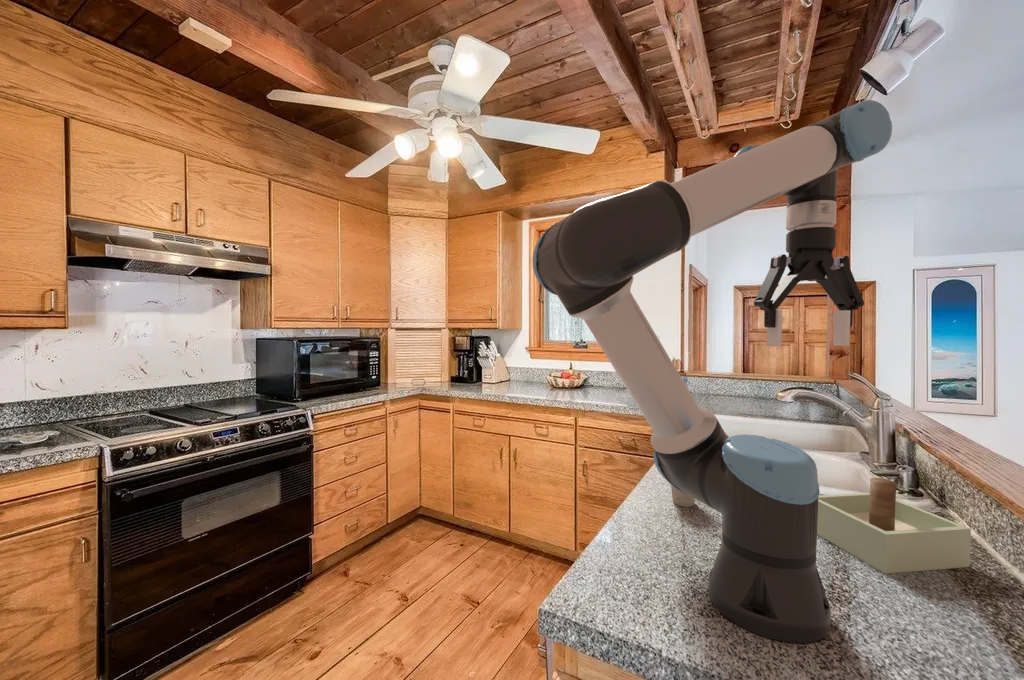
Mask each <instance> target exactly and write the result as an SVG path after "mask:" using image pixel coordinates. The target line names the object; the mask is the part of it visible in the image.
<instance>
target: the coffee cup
mask: <svg viewBox="0 0 1024 680" xmlns="http://www.w3.org/2000/svg"><path fill="white" fill-rule="evenodd" d="M670 488H671V489H670V490H671V497H672V502H673V503H674V504H675V505H677V506H679V507H680V506H681V507H686V508H687V507H689V508H690V507H693V506H695V501H696V498H694V497H692V496H690V495H689V494H687V493H685V492H682V491H680V490H678V489H677V488H675V487H674V486H672V485H671V484H670Z"/></svg>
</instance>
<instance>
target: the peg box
mask: <svg viewBox="0 0 1024 680" xmlns="http://www.w3.org/2000/svg"><path fill="white" fill-rule="evenodd" d="M869 504H870V492H859V493H858V492H855V493H839V494H819V497H818V521H817V536H819V537H821V538H823V539H825V540H826V541H828V542H830V543H831V544H833V545H834V546H837V547H839V548H841V549H842V550H843V551H845V552H847V553H849V554H850V555H851V556H854V557H855V558H857V559H859V560H861V561H862V562H864V563H866V564H867V565H869V566H871V567H873V568H875V569H876V570H878V571H879V572H881V573H883V574H886V575H887V574H897V573H899V574H901V573H911V572H922V571H924V572H926V571H934V570H947V569H948V570H949V569H950V570H951V569H958V568H960V569H961V568H970V564H971V562H970V561H971V559H970V558H971V536H972V535H971V533H972V528H971V527H967V526H965V525H962V524H960V523H958V522H955V521H952V520H950V519H947V518H945V517H942V516H940V515H938V514H934V513H932V512H929V511H927V510H925V509H922V508H920V507H917V506H914V505H911V504H910V503H907V502H904V501H903V500H900V499H897V498H896V505H895V531H884V530H882V529H880V528H878V527H876V526H874V525H872V524H869Z"/></svg>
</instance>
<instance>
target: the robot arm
mask: <svg viewBox="0 0 1024 680" xmlns="http://www.w3.org/2000/svg"><path fill="white" fill-rule="evenodd" d="M892 132H893V123H892V120H891V117H890V113H889V111H888V109H887V108H886V107H885V105H883V104H882V103H881V102H879V101H878V100H877V101H876V100H873V99H867V100H861V101H859V102H858V103H855V104H852V105H850V106H846V107H844V108H843V109H841V110H840V111H838V112H836V113H833V114H831V115H829V116H826V117H825V118H822V119H821V120H817V121H815V122H813V123H811V124H808V125H807V126H804V127H801V128H799V129H796V130H794V131H792V132H789V133H787V134H785V135H782V136H780V137H777V138H775V139H773V140H770V141H768V142H765V143H763V144H756V145H747V146H744V147H742V148H741V149H740V150H738V151H737V152H736V154H735V155H734V156H732V157H730V158H728V159H725V160H723V161H720V162H717V163H715V164H713V165H711V166H709V167H706V168H704V169H702V170H699V171H696V172H695V173H692V174H689V175H688V176H685V177H683V178H680V179H678V180H675V181H672V182H670V181H666V180H661V179H660V180H655V181H653V182H651V183H648V184H646V185H643V186H640V187H638V188H634V189H631V190H628V191H625V192H622V193H619V194H616V195H613V196H612V195H611V196H609V197H605V198H601V199H598V200H596V201H593V202H589V203H587V204H585V205H583V206H581V207H579V208H577V209H576V210H575V211H573V212H572V213H570V214H569V215H567V216H566V217H565V218H563V219H561V220H559V221H557V222H556V223H553V224H552V225H551V226H549V228H547V229H545V232H544V233H543V234H542V235H541V236H540V237H539V239H538V240H537V242H536V244H535V245H534V249H533V252H532V269H533V273H534V275H535V278H536V281H538V283H539V284H540V286H541V287H542V288H543V289H545V290H546V291H548V292H549V293H551V294H552V295H555V296H557V298H558V299H559V301H560V302H561V304H562V305H563V307H564V308H565V310H566V312H567V313H568V315H569V316H570V317H574V318H578V319H581V320H583V321H584V323H585V324H586V325H587V327H588V329H589V330H590V333H591V334H592V335H593V337H594V339H595V340H596V342H597V343H598V345H599V346H600V348H601V350H602V351H603V353H604V354H605V356H606V358H607V359H608V361H609V362H610V364H611V366H612V368H613V369H614V371H615V372H616V373H617V375H618V377H619V378H620V380H621V382H622V383H623V385H624V386H625V389H627V391H628V393H629V395H630V397H631V398H632V399H633V400H634V402H635V404H636V406H637V408H638V409H639V411H640V413H642V415H643V417H644V419H645V421H646V422H647V423H648V425H649V426H650V429H651V430H652V433H651V436H650V444H651V446H652V449H654V452H653V453H652V457H653V461H654V464H655V466H656V467H655V468H656V469H657V470H658V472H659V474H660V475H661V476H662V478H663V479H664V480H666V481H667V482H668V484H670V486H671V485H672V486H674V487H675V488H677V489H678V490H680V491H682V492H685V493H687V494H689V495H690V496H692V497H694V498H695V500H698V501H699V502H701V503H702V504H704V505H706V506H708V507H710V508H711V509H713V510H714V511H716V512H718V513H720V514H721V515H722V517H721V519H722V520H721V521H722V523H721V525H722V526H721V536H722V538H721V545H720V547H719V549H718V551H717V555H716V557H715V560H714V563H713V566H712V569H711V570H710V571H709V574H708V591H707V592H708V597H709V600H710V601H711V603H712V604H713V606H714V607H715V608H716V610H717V611H718V612H719V613H721V614H722V615H723V616H724V617H725V618H726V619H728V620H729V621H731V622H733V623H734V624H735V625H738V626H739V627H741V628H743V629H745V630H748V631H749V632H751V633H754V634H756V635H759V636H762V637H765V638H767V639H771V640H776V641H780V642H786V643H797V644H798V643H799V644H803V643H805V644H806V643H813V642H818V641H820V640H822V639H824V638H826V637H827V636H828V635H829V633H830V632H831V626H832V624H831V623H832V620H831V619H832V610H831V605H830V602H829V600H828V598H827V594H826V591H825V588H824V585H823V582H822V578H821V576H820V572H819V570H818V567H817V546H818V545H817V544H818V538H817V537H818V534H817V521H818V497H819V495H820V491H821V490H820V485H819V482H818V481H819V480H818V468H817V465H816V462H815V460H814V459H813V458H812V457H811V456H810V455H809V454H808V453H807V452H806V451H804V450H803V449H802V448H799V447H797V446H795V445H793V444H791V443H789V442H786V441H783V440H779V439H776V438H768V437H767V436H763V435H757V434H756V435H755V434H736V435H732V436H729V435H728V434H727V433H726V432H725V430H724V429H723V427H722V425H721V424H720V421H719V420H718V418H717V416H716V414H714V412H712V411H711V410H709V409H708V408H707V409H706V408H702V407H699V405H698V403H697V402H696V400H695V399H694V396H693V394H692V393H691V391H690V390H689V388H688V387H687V385H686V383H685V382H684V380H683V378H682V376H681V375H680V373H679V371H678V370H677V368H676V366H675V365H674V363H673V361H672V359H671V358H670V356H669V355H668V353H667V351H666V349H665V347H664V346H663V344H662V342H661V341H660V339H659V338H658V336H657V334H656V333H655V331H654V329H653V327H652V326H651V324H650V322H649V321H648V319H647V317H646V315H645V314H644V312H643V310H642V309H641V307H640V305H639V303H638V302H637V300H636V298H635V297H634V295H633V293H632V291H631V288H632V285H633V281H634V276H635V275H636V274H638V273H640V272H642V271H643V270H646V269H647V268H649V267H651V266H652V265H654V264H656V263H658V262H660V261H661V260H663V259H665V258H668V257H669V256H671V255H673V254H676V253H677V252H679V251H681V250H683V249H684V248H685V247H686V246H687V245H688V244H689V242H690V241H691V237H693V236H695V235H697V234H700V233H702V232H705V231H706V230H708V229H711V228H713V227H715V226H717V225H719V224H722V223H724V222H725V221H728V220H731V218H734V217H736V216H739V215H741V214H743V213H745V212H747V211H749V210H752V209H754V208H756V207H758V206H759V205H762V204H764V203H767V202H769V201H770V200H773V199H775V198H777V197H780V196H786V221H785V229H786V231H788V232H787V234H785V238H786V239H785V251H786V252H787V254H788V255H786V254H779V255H774V256H772V257H771V259H770V265H769V270H768V272H767V273H766V276H765V278H764V280H763V281H762V284H761V287H760V288H759V291H758V292H757V294H756V297H755V298H754V300H753V305H754V307H759V309H760V311H763V312H764V313H763V315H764V316H763V318H764V319H763V320H764V322H763V325H764V328H766V330H767V331H766V334H767V335H766V336H767V337H766V346H767V347H782V341H783V340H782V339H783V338H782V337H783V336H782V335H783V309H778V308H779V307H780V306H781V305H782V303H783V302H784V301H785V299H786V298H788V296H789V294H790V293H791V292H792V291H793V290H794V288H795V287H796V286H797V284H798V283H799V282H805V281H806V282H816V284H819V285H820V286H821V287H822V289H823V290H824V291H825V293H826V294H827V296H828V297H829V298H830V300H831V301H832V302H833V304H834V305H835V306H836V308H837V309H838V310H833V330H832V331H833V336H832V337H833V338H832V339H833V340H832V341H833V342H832V345H833V346H839V347H840V346H841V347H850V342H851V341H850V338H851V337H850V336H851V328H852V327H853V317H854V315H853V314H854V311H856V310H859V308H860V307H863V306H864V305H865V301H864V299H863V296H862V294H861V292H860V289H859V286H858V284H857V282H856V280H855V277H854V274H853V273H852V270H851V266H850V258H849V256H848V255H843V256H837V257H836V256H835V257H834V256H833V250H834V249H835V248H836V247H837V229H836V228H835V227H834V226H835V225H836V224H837V207H838V206H837V201H838V200H837V199H838V197H837V189H838V188H837V187H838V186H837V185H838V172H839V169H841V168H843V167H846V166H848V165H851V164H854V163H856V162H857V163H859V162H862V161H864V160H865V159H867V158H869V157H872V156H874V155H876V154H877V155H878V153H880V152H881V151H883V150H884V149H885V148H886V147H887V145H889V142H890V139H891V137H892ZM786 268H788V269H789V270H788V271H787V272H786V273H785V271H786ZM784 273H785V275H784ZM783 275H784V276H783ZM782 277H783V278H782ZM781 279H782V281H781ZM780 281H781V282H780Z"/></svg>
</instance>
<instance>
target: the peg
mask: <svg viewBox="0 0 1024 680" xmlns="http://www.w3.org/2000/svg"><path fill="white" fill-rule="evenodd" d="M869 482H870V483H869V493H870V504H869V524H872V525H874V526H876V527H878V528H880V529H882V530H884V531H895V505H896V499H897V496H896V495H897V483H896V482H895V481H892V480H889V479H886V478H880V477H871V478H870V479H869Z"/></svg>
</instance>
